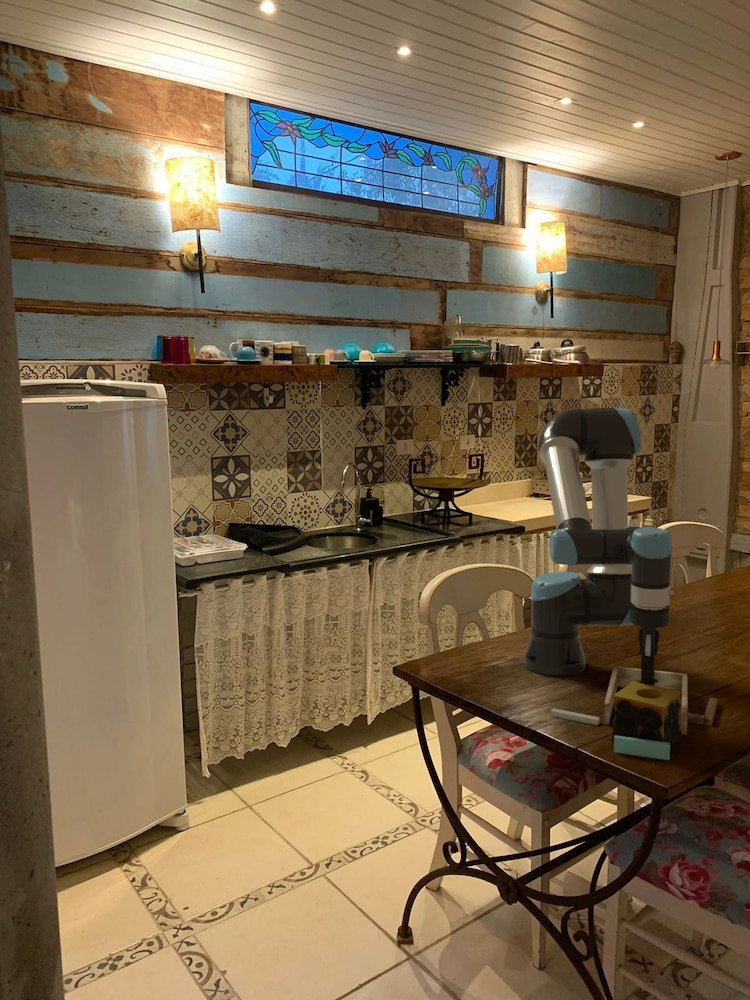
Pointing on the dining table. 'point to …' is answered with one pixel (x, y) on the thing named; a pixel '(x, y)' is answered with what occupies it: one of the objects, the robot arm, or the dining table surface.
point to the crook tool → (708, 716)
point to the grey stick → (575, 716)
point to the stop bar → (642, 747)
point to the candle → (647, 713)
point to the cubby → (665, 680)
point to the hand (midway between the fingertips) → (646, 713)
